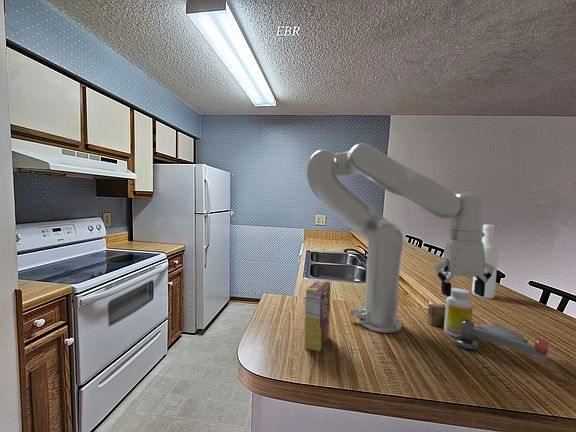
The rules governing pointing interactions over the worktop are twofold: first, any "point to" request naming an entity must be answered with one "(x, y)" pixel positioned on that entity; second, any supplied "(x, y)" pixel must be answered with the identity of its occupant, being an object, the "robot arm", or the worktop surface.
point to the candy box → (317, 315)
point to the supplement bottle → (457, 311)
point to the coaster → (502, 331)
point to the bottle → (489, 261)
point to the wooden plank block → (436, 314)
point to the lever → (498, 340)
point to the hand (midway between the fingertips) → (462, 295)
